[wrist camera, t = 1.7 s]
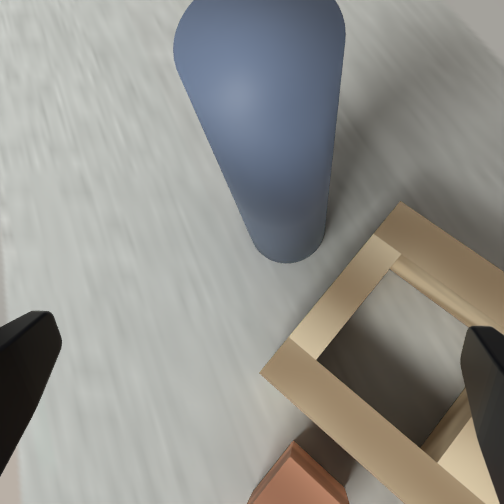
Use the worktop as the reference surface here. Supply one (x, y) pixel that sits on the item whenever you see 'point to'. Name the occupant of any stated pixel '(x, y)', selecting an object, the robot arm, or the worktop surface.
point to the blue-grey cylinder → (268, 109)
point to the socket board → (357, 410)
